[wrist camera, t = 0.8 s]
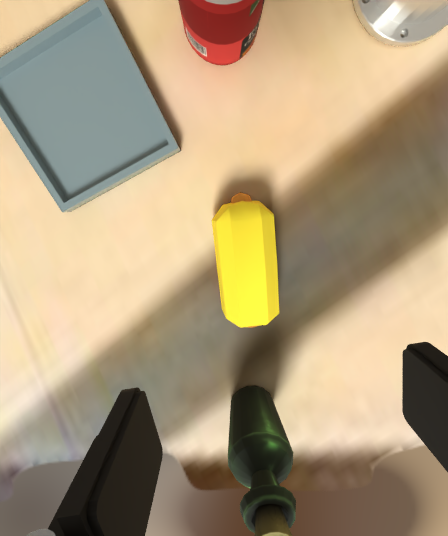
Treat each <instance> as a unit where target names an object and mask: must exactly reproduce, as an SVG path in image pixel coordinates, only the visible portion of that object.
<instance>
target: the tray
mask: <svg viewBox="0 0 448 536" xmlns="http://www.w3.org/2000/svg"><path fill="white" fill-rule="evenodd" d="M0 117H1V119H2V121H3V122H4V124H5V125H6V127H7V128H8V130H9V131H10V133H11V134H12V136H13V137H14V139H15V140H16V142H17V144H18V145H19V147H20V148H21V150H22V151H23V153H24V154H25V156H26V157H27V159H28V160H29V162H30V163H31V165H32V167H33V168H34V170H35V171H36V173H37V174H38V176H39V177H40V179H41V180H42V182H43V183H44V185H45V186H46V188H47V190H48V191H49V193H50V194H51V196H52V197H53V199H54V200H55V202H56V203H57V205H58V206H59V208H60V210H61V211H62V212H70V211H73V210H75V209H76V208H78V207H80V206H82V205H84V204H86V203H87V202H89V201H91V200H93V199H95V198H96V197H98V196H100V195H102V194H104V193H105V192H107V191H109V190H111V189H113V188H114V187H116V186H118V185H120V184H122V183H124V182H125V181H127V180H129V179H131V178H133V177H134V176H136V175H138V174H140V173H142V172H143V171H145V170H147V169H149V168H151V167H152V166H154V165H156V164H158V163H160V162H162V161H163V160H165V159H167V158H169V157H171V156H172V155H174V154H176V153H178V152H180V151H181V150H180V148H179V146H178V144H177V142H176V140H175V138H174V136H173V134H172V132H171V130H170V128H169V126H168V124H167V122H166V120H165V118H164V116H163V114H162V112H161V110H160V108H159V106H158V104H157V102H156V100H155V98H154V96H153V94H152V92H151V90H150V88H149V86H148V85H147V83H146V81H145V79H144V77H143V75H142V73H141V71H140V69H139V67H138V65H137V63H136V61H135V59H134V57H133V55H132V53H131V51H130V49H129V47H128V45H127V43H126V41H125V39H124V37H123V35H122V33H121V31H120V29H119V27H118V25H117V23H116V21H115V19H114V17H113V15H112V14H111V12H110V10H109V8H108V6H107V4H106V2H105V1H104V0H90V1H88V2H86V3H85V4H83V5H82V6H80V7H79V8H77V9H76V10H74V11H72V12H71V13H69V14H68V15H66V16H65V17H63V18H61V19H60V20H58V21H57V22H55V23H54V24H52V25H51V26H49V27H47V28H46V29H44V30H43V31H41V32H40V33H38V34H37V35H35V36H33V37H32V38H30V39H29V40H27V41H26V42H24V43H22V44H21V45H19V46H18V47H16V48H15V49H13V50H12V51H10V52H8V53H7V54H5V55H4V56H2V57H1V58H0Z"/></svg>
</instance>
